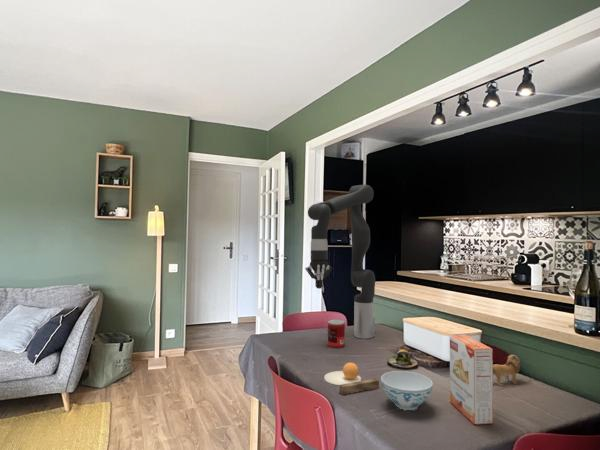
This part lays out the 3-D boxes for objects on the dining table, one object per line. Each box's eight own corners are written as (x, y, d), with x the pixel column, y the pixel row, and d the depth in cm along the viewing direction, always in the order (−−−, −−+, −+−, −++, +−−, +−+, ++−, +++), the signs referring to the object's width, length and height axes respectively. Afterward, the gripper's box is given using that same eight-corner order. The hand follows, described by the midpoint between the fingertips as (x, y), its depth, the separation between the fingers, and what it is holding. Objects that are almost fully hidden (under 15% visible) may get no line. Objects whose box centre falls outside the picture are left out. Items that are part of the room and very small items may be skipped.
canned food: (344, 343, 179) (344, 319, 179) (344, 348, 171) (344, 323, 171) (328, 342, 180) (328, 319, 180) (327, 347, 172) (327, 323, 172)
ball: (351, 367, 141) (355, 357, 138) (358, 380, 137) (363, 371, 134) (338, 370, 139) (342, 361, 136) (345, 384, 135) (350, 374, 132)
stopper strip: (375, 385, 130) (375, 378, 130) (378, 388, 129) (378, 380, 129) (339, 392, 125) (339, 384, 125) (342, 395, 123) (342, 387, 123)
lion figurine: (510, 377, 139) (510, 352, 139) (524, 382, 134) (524, 356, 134) (482, 383, 133) (482, 357, 133) (495, 389, 128) (495, 362, 128)
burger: (382, 366, 150) (382, 347, 150) (394, 358, 159) (394, 340, 160) (412, 373, 143) (412, 353, 143) (422, 364, 152) (422, 345, 152)
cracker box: (448, 402, 118) (448, 334, 118) (467, 401, 119) (467, 334, 119) (472, 425, 104) (472, 348, 104) (494, 424, 105) (494, 347, 105)
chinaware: (375, 395, 123) (375, 371, 123) (420, 394, 124) (420, 370, 124) (389, 418, 108) (389, 391, 108) (441, 417, 109) (441, 389, 109)
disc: (348, 369, 145) (348, 369, 145) (368, 382, 133) (368, 381, 133) (318, 374, 140) (318, 374, 140) (335, 388, 128) (335, 387, 128)
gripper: (328, 248, 176) (328, 286, 176) (302, 249, 171) (301, 288, 171) (336, 249, 169) (336, 288, 169) (309, 249, 164) (309, 290, 164)
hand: (318, 288), depth 170 cm, fingers closed
